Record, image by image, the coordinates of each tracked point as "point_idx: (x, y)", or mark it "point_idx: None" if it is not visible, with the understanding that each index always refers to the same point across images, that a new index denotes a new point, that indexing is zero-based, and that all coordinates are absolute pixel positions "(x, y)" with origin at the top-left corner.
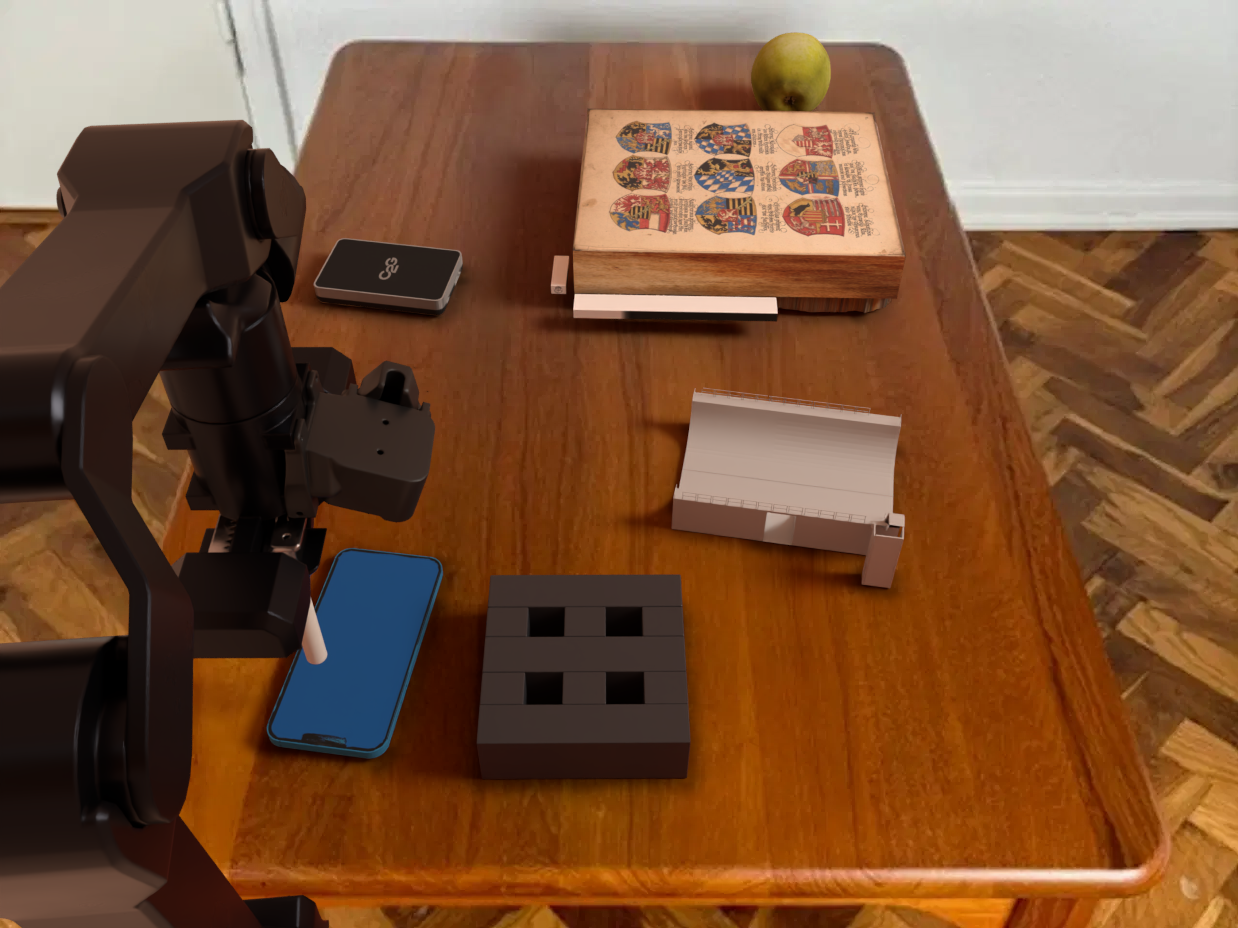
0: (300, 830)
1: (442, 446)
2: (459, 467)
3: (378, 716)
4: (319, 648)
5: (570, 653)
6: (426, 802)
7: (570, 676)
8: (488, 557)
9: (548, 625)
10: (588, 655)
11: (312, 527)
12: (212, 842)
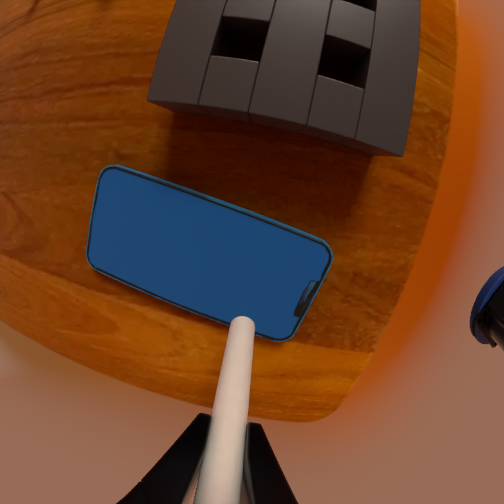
0: (367, 311)
1: (7, 169)
2: (22, 152)
3: (293, 247)
4: (251, 336)
5: (299, 20)
6: (380, 210)
7: (334, 29)
8: (105, 118)
9: (222, 48)
10: (306, 4)
11: (152, 500)
12: (351, 363)
